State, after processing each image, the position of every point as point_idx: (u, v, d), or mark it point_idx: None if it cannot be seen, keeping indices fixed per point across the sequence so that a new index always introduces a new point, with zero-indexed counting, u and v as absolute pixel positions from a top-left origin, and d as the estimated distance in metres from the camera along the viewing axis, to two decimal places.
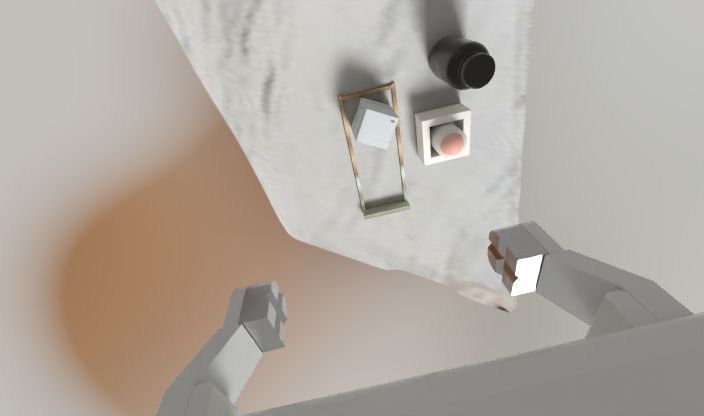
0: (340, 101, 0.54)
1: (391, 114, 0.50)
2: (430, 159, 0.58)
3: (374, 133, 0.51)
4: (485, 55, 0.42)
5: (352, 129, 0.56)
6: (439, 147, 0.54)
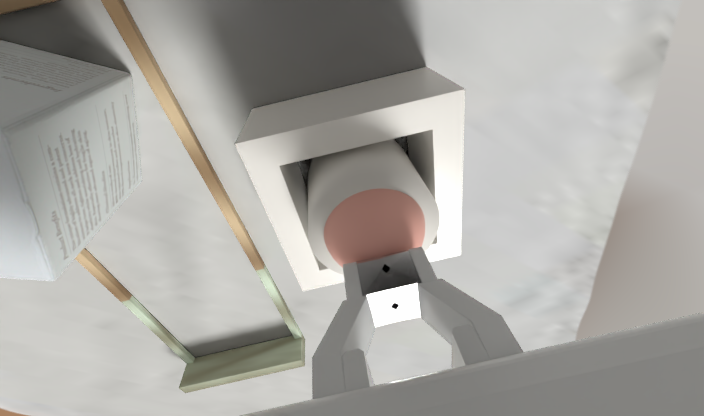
0: None
1: None
2: (319, 274, 0.16)
3: None
4: None
5: None
6: (322, 245, 0.13)
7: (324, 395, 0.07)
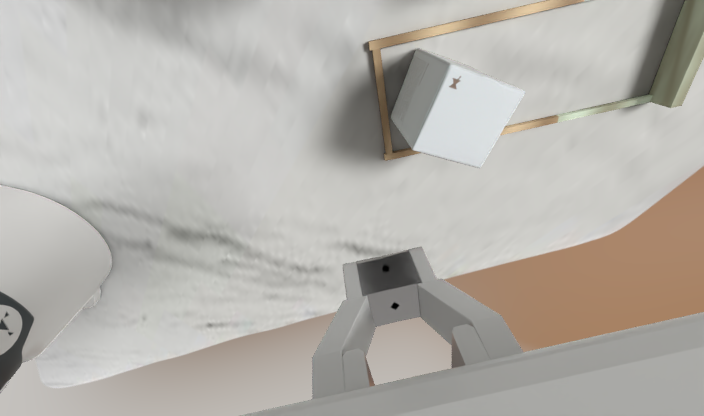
0: (393, 156, 0.29)
1: (436, 83, 0.19)
2: None
3: (473, 127, 0.21)
4: None
5: None
6: None
7: (324, 395, 0.07)
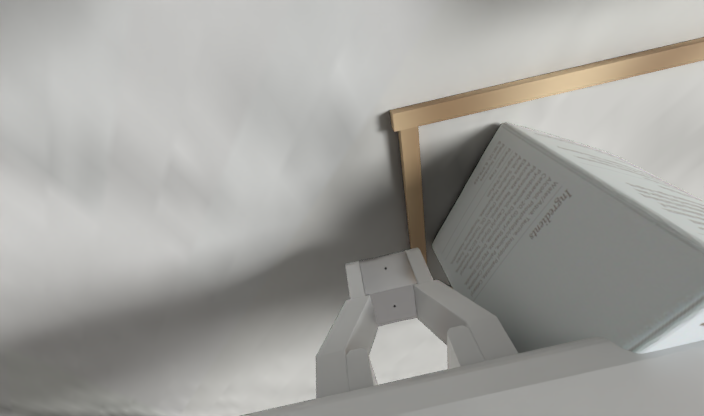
0: None
1: (642, 299, 0.06)
2: None
3: None
4: None
5: None
6: None
7: (328, 394, 0.07)
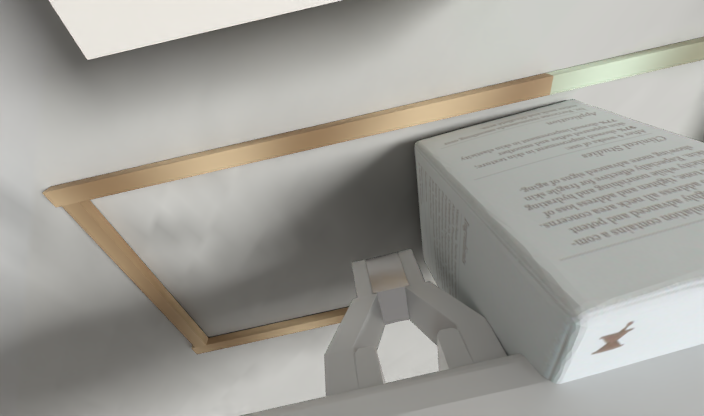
0: (211, 348, 0.16)
1: (535, 336, 0.06)
2: None
3: None
4: None
5: None
6: None
7: (337, 392, 0.07)
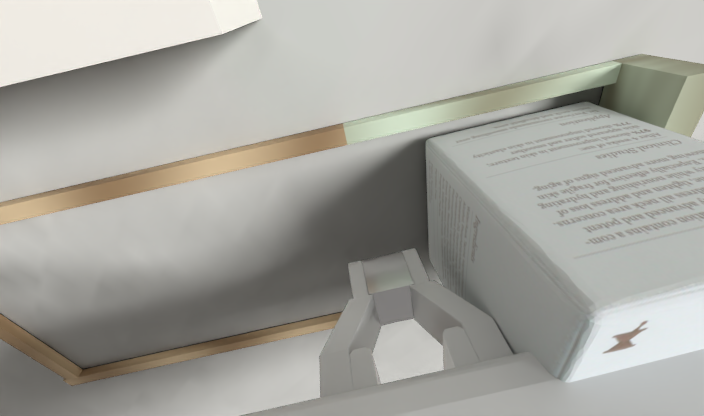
0: (84, 380, 0.16)
1: (546, 334, 0.06)
2: None
3: None
4: None
5: None
6: None
7: (332, 393, 0.07)
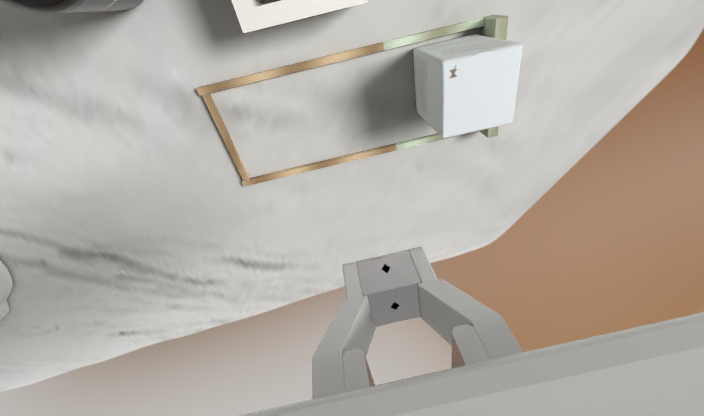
0: (250, 182, 0.32)
1: (438, 80, 0.22)
2: None
3: (487, 96, 0.23)
4: None
5: None
6: None
7: (324, 395, 0.07)
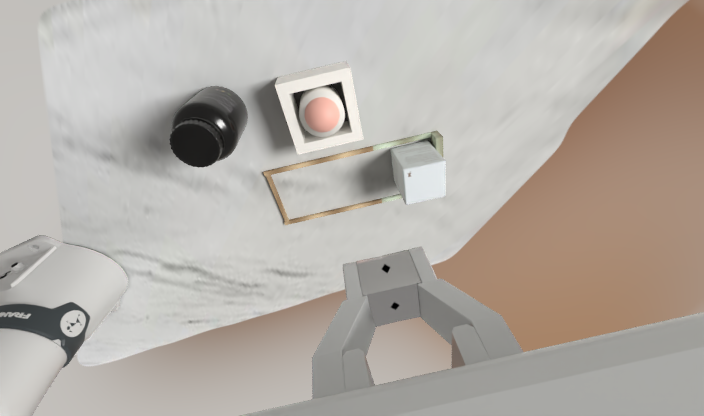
0: (289, 222, 0.51)
1: (402, 176, 0.41)
2: (354, 132, 0.39)
3: (429, 184, 0.42)
4: (172, 144, 0.30)
5: None
6: (327, 132, 0.38)
7: (324, 395, 0.07)
